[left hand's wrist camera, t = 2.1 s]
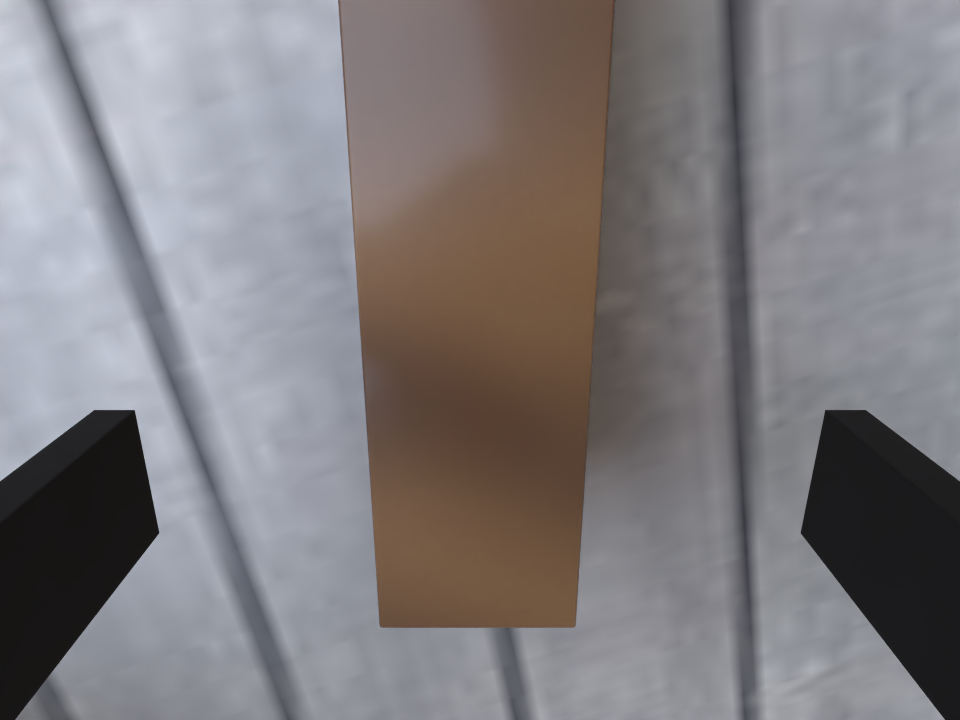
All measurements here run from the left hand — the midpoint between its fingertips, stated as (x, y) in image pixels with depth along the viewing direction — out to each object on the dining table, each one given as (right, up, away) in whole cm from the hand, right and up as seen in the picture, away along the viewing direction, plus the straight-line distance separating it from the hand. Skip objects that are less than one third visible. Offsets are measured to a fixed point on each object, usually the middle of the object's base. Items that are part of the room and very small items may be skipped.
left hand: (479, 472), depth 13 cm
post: (0, +28, +2) cm, 28 cm away
